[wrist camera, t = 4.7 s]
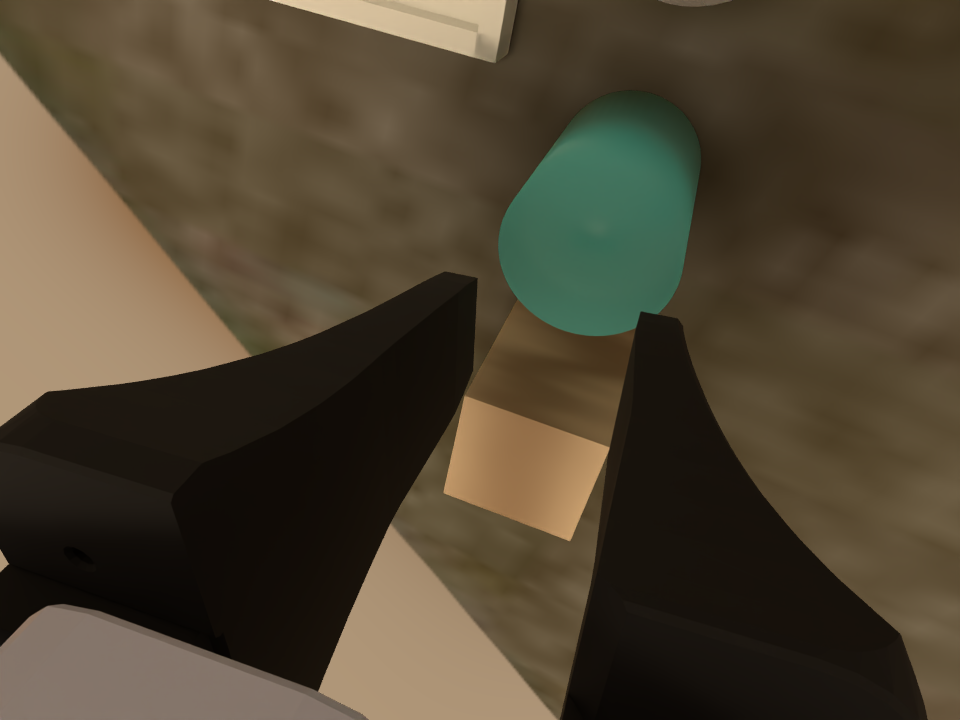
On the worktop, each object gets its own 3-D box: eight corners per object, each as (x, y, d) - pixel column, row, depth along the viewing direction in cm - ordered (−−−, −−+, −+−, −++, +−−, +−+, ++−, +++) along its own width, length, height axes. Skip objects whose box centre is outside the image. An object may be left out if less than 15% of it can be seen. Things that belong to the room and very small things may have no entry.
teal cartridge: (724, 113, 18) (714, 199, 13) (671, 247, 20) (647, 358, 16) (578, 72, 18) (518, 140, 14) (544, 207, 21) (483, 303, 16)
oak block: (639, 326, 22) (610, 447, 17) (603, 414, 25) (569, 541, 20) (523, 288, 23) (464, 395, 18) (500, 378, 25) (443, 492, 20)
